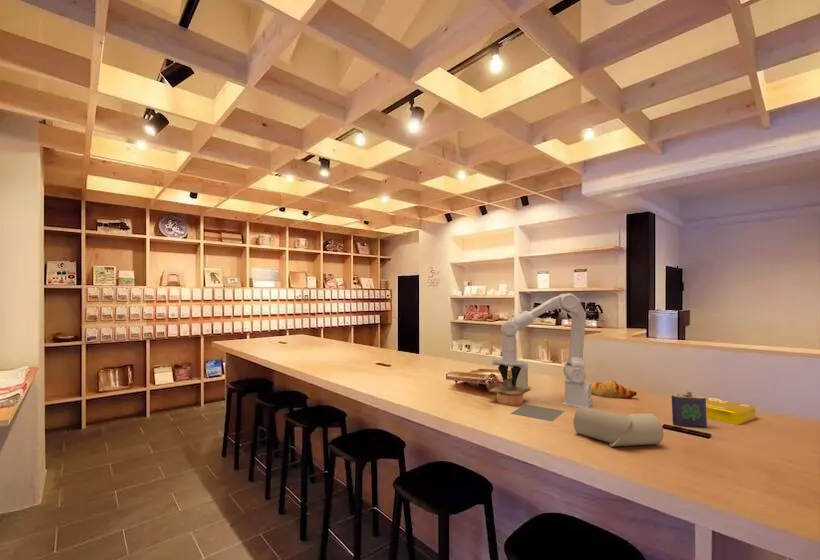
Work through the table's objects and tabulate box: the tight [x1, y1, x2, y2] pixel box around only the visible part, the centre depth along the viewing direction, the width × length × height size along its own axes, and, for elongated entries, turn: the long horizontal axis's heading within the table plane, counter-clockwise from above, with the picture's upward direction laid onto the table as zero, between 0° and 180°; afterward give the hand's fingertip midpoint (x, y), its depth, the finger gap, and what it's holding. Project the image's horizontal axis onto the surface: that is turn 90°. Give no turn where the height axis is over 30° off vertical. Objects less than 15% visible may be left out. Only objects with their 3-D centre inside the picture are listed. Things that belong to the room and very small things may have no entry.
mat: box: [510, 404, 565, 422], centre depth 142 cm, size 15×15×1 cm
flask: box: [671, 390, 708, 429], centre depth 128 cm, size 10×3×12 cm, turn 78°
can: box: [510, 361, 529, 389], centre depth 182 cm, size 8×8×12 cm
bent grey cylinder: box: [573, 407, 664, 448], centre depth 116 cm, size 18×10×20 cm
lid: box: [488, 377, 531, 396], centre depth 157 cm, size 12×12×5 cm
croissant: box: [589, 379, 637, 399], centre depth 168 cm, size 21×10×8 cm, turn 54°
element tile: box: [705, 397, 756, 425], centre depth 139 cm, size 15×15×5 cm
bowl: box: [496, 393, 524, 406], centre depth 157 cm, size 10×10×4 cm
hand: (509, 384), depth 157 cm, fingers closed on lid, 3 cm apart
